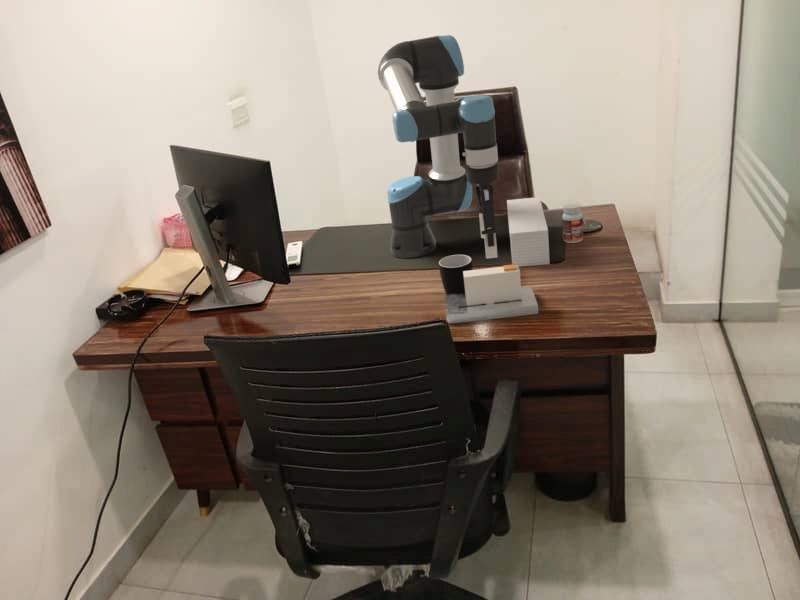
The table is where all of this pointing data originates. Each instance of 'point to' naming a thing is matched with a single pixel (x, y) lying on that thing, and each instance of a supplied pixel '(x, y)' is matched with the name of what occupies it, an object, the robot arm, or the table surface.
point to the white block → (492, 285)
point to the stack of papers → (528, 232)
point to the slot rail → (489, 308)
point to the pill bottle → (572, 223)
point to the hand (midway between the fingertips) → (489, 247)
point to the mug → (454, 273)
